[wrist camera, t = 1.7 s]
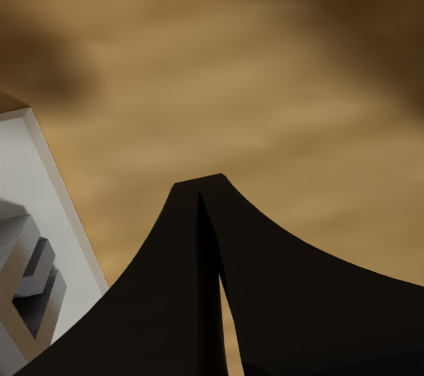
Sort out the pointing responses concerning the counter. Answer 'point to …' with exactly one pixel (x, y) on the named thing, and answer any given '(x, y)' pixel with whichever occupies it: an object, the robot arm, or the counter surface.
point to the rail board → (46, 219)
